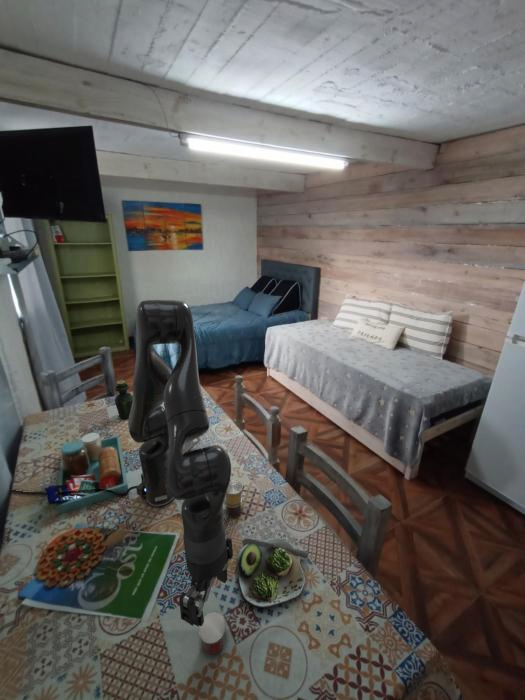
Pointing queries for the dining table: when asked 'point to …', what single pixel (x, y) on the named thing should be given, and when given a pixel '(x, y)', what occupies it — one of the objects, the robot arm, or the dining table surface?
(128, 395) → the potion bottle
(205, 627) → the burgundy pod
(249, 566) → the salad plate
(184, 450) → the teacup
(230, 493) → the gold pod
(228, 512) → the base pod
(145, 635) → the dining table surface
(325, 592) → the dining table surface
